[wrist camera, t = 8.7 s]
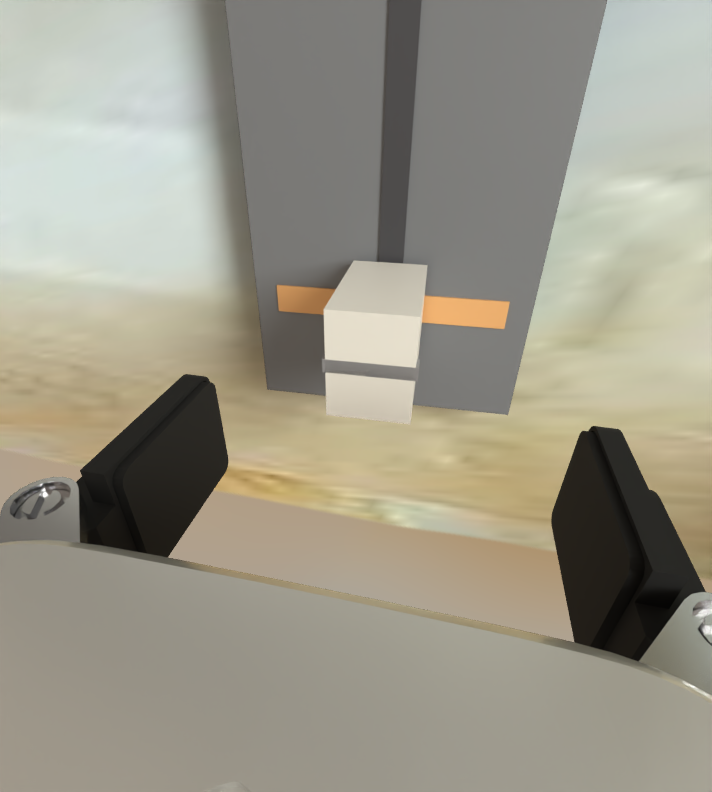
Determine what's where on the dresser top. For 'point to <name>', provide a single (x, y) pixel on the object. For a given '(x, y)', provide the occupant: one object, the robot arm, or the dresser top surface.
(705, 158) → the dresser top surface
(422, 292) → the fader tab
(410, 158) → the fader board
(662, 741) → the robot arm
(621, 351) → the dresser top surface
